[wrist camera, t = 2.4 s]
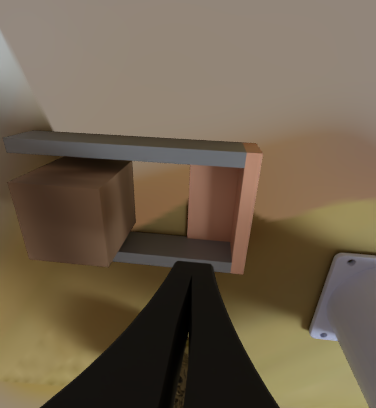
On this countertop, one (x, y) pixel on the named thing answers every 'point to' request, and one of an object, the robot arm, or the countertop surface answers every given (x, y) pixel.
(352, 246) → the countertop surface
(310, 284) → the countertop surface
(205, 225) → the channel
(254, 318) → the countertop surface
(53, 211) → the walnut block
